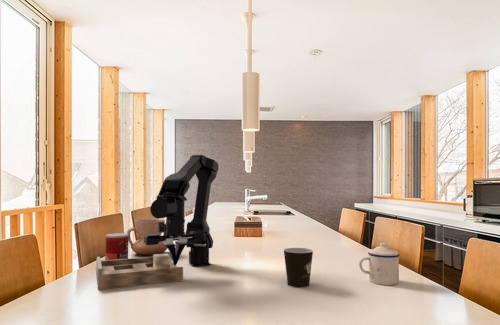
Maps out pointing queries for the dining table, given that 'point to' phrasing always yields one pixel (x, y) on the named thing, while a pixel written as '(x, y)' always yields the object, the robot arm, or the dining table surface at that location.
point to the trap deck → (134, 273)
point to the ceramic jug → (143, 229)
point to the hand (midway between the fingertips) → (174, 264)
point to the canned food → (116, 246)
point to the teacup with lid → (382, 265)
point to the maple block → (161, 261)
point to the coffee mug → (298, 266)
